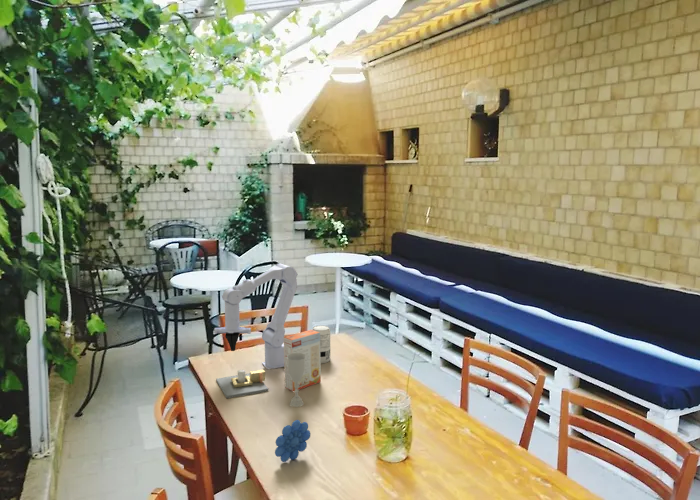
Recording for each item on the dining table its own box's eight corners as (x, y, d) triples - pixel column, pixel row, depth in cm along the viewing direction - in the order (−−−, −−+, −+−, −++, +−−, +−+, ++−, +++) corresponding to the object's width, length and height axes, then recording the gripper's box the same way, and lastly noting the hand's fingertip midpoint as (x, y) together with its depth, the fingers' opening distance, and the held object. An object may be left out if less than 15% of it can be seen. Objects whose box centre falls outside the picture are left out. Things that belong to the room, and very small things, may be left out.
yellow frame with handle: (234, 387, 208) (234, 378, 208) (231, 380, 215) (230, 371, 214) (266, 382, 213) (266, 373, 212) (262, 376, 219) (262, 367, 219)
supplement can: (309, 362, 239) (309, 329, 236) (315, 356, 246) (315, 324, 244) (326, 364, 236) (326, 331, 234) (332, 358, 244) (332, 326, 242)
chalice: (302, 409, 193) (302, 360, 191) (284, 407, 195) (284, 359, 192) (308, 400, 201) (308, 353, 198) (290, 398, 202) (290, 352, 199)
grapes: (303, 447, 167) (302, 410, 166) (314, 457, 162) (314, 419, 160) (268, 458, 161) (268, 420, 159) (279, 469, 155) (278, 430, 154)
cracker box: (311, 378, 221) (311, 328, 218) (321, 382, 217) (321, 332, 214) (283, 387, 212) (283, 335, 209) (292, 392, 208) (292, 339, 204)
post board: (255, 374, 224) (255, 360, 224) (268, 391, 208) (268, 376, 208) (216, 380, 218) (215, 366, 217) (226, 398, 202) (226, 383, 201)
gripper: (212, 320, 217) (213, 353, 219) (248, 321, 217) (249, 353, 219) (216, 315, 224) (217, 347, 226) (251, 316, 224) (252, 347, 226)
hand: (233, 350), depth 223 cm, fingers closed
